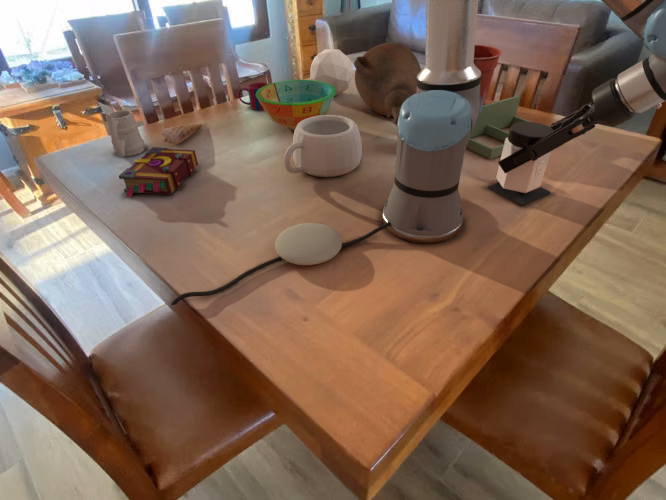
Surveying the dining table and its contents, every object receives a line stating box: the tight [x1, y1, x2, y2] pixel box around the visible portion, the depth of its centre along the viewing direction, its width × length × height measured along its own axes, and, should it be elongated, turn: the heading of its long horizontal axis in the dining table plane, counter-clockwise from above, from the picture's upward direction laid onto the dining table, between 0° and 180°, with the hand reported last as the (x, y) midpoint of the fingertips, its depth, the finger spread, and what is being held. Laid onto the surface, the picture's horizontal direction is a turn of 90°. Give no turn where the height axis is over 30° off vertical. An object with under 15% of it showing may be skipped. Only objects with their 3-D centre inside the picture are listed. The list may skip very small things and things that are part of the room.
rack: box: [466, 95, 532, 160], centre depth 111 cm, size 22×13×8 cm, turn 121°
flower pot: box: [473, 44, 503, 106], centre depth 130 cm, size 16×16×16 cm
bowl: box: [256, 79, 336, 131], centre depth 122 cm, size 22×22×10 cm
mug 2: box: [283, 114, 363, 178], centre depth 100 cm, size 21×17×10 cm
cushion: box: [274, 222, 343, 266], centre depth 76 cm, size 12×12×3 cm
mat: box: [487, 181, 552, 207], centre depth 92 cm, size 9×9×1 cm
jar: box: [495, 121, 554, 193], centre depth 88 cm, size 9×8×12 cm
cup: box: [237, 81, 269, 111], centre depth 136 cm, size 7×10×7 cm
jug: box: [353, 41, 422, 127], centre depth 122 cm, size 20×20×30 cm
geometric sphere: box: [309, 48, 354, 97], centre depth 143 cm, size 14×15×15 cm
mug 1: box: [105, 109, 146, 158], centre depth 108 cm, size 8×12×12 cm, turn 5°
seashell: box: [161, 123, 205, 145], centre depth 118 cm, size 4×18×5 cm, turn 159°
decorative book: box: [118, 146, 199, 198], centre depth 98 cm, size 11×16×5 cm
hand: (510, 159), depth 90 cm, fingers closed on jar, 8 cm apart
